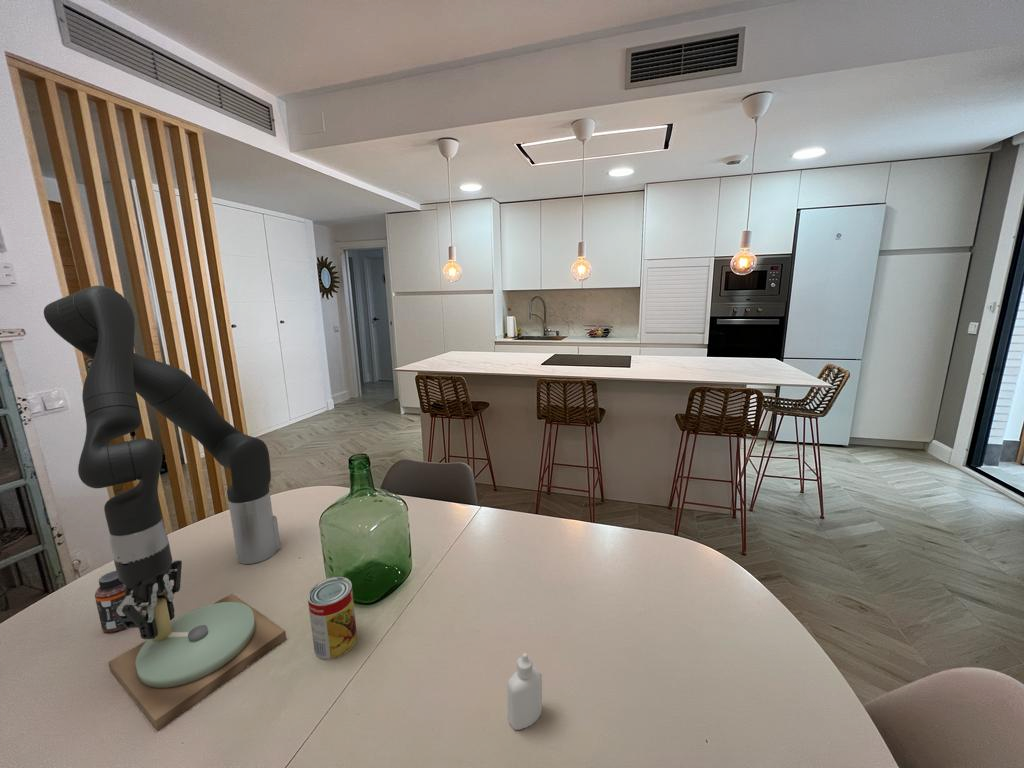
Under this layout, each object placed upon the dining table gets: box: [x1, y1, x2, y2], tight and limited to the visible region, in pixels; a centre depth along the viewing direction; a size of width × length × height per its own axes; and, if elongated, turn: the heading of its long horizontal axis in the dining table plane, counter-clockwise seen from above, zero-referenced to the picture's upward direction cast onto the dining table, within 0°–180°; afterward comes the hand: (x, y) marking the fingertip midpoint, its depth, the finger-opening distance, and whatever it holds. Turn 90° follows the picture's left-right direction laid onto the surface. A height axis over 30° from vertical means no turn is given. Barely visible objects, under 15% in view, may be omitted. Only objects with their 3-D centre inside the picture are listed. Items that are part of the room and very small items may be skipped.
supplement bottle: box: [94, 570, 126, 633], centre depth 87 cm, size 6×6×11 cm
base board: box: [107, 593, 287, 732], centre depth 79 cm, size 21×21×2 cm
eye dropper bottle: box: [506, 652, 543, 731], centre depth 66 cm, size 4×6×12 cm
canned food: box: [306, 576, 358, 661], centre depth 81 cm, size 8×8×12 cm
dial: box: [136, 598, 255, 688], centre depth 78 cm, size 18×18×9 cm
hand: (159, 628), depth 78 cm, fingers open, 3 cm apart
